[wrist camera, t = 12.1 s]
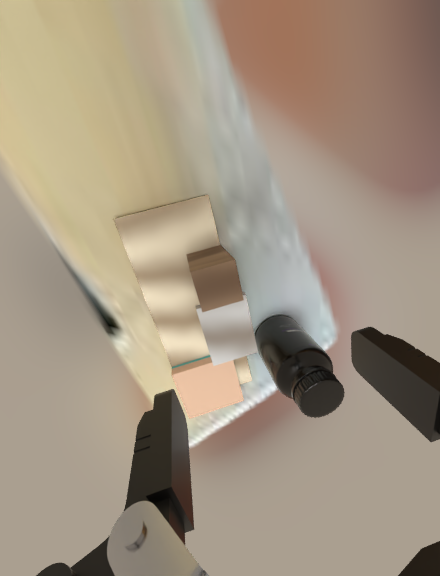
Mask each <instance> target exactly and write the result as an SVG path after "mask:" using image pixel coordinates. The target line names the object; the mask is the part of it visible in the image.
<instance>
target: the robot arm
mask: <svg viewBox="0 0 440 576" xmlns="http://www.w3.org/2000/svg"><path fill="white" fill-rule="evenodd" d="M351 349H352V363H353V366H354V367H355V369H356V371H357V372H358V373H359V374H360V375H361V376H362V377H363V378H364V379H365V380H366V381H367V382H368V383H369V384H371V386H373V387H374V388H375V389H376V390H377V391H378V392H379V393H380V394H381V395H382V396H383V397H384V398H385V399H386V400H387V401H388V402H389V403H390V404H392V406H394V407H395V408H396V409H397V410H398V411H399V412H400V413H401V414H402V415H403V416H404V417H405V418H406V419H407V420H408V421H409V422H410V423H411V424H412V425H413V426H415V427H416V428H417V429H418V430H419V431H420V432H421V433H422V434H423V435H424V436H425V437H426V438H427V439H428V440H429V441H430V442H433V441H436V440H438V439H440V363H439V362H437V361H436V360H434V359H433V358H431V357H429V356H426V355H425V353H423V352H421V351H420V350H418V349H415V347H413V346H412V345H410V344H409V343H407V342H405V341H404V340H402V339H399V338H397V337H394V336H391V335H388V334H386V335H384V334H382V333H381V332H379V331H378V330H376V329H375V328H372V327H367V328H364V329H361V330H357V331H355V332H353V333H352V335H351ZM191 530H194V520H193V505H192V489H191V474H190V459H189V444H188V429H187V423H186V418H185V415H184V412H183V410H182V408H181V405H180V403H179V400H178V398H177V395H176V393H175V391H174V389H171V390H168V391H165V392H162V393H159V394H156V395H155V397H154V407H153V410H151V411H148V412H145V413H144V415H143V417H142V419H141V420H140V422H139V424H138V427H137V434H136V442H135V447H134V455H133V461H132V468H131V474H130V481H129V487H128V494H127V500H126V505H125V509H124V512H123V513H122V514H121V516H120V517H119V518H118V520H117V521H116V523H115V525H114V527H113V529H112V531H111V534H110V536H109V537H108V538H107V539H106V540H105V541H104V542H103V543H102V544H100V545H99V546H98V547H97V548H96V549H94V550H93V551H92V552H90V553H89V554H88V555H87V556H85V557H84V558H83V559H82V560H80V561H79V562H77V563H76V564H75V565H74V566H72V567H71V568H70V567H69V566H67V565H66V564H64V563H55V564H52V565H50V566H48V567H47V568H45V569H44V570H42V571H41V572H40V573H39V574H38V575H37V576H209V575H208V574H207V573H206V572H205V571H204V570H203V569H202V568H201V567H200V565H199V564H198V563H197V561H196V560H195V559H194V557H193V556H192V554H191V553H190V552H189V550H188V549H187V548H186V547H185V533H186V532H188V531H191ZM398 576H440V541H439V542H436V543H434V544H432V545H429V546H427V547H424V548H422V549H421V550H420V551H419V552H418V553H417V554H416V556H415V557H414V558H413V559H412V561H410V563H409V564H408V565H407V566H406V567H405V568H404V570H403V571H402V572H401V573H400V574H399V575H398Z"/></svg>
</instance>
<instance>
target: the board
mask: <svg viewBox="0 0 440 576" xmlns="http://www.w3.org/2000/svg"><path fill="white" fill-rule="evenodd" d="M113 220H114V222H115V225H116V227H117V230H118V232H119V235H120V237H121V240H122V242H123V245H124V247H125V250H126V252H127V255H128V257H129V260H130V263H131V265H132V268H133V270H134V273H135V275H136V278H137V280H138V283H139V285H140V288H141V290H142V293H143V295H144V298H145V300H146V303H147V306H148V308H149V311H150V313H151V316H152V318H153V321H154V323H155V326H156V328H157V331H158V333H159V336H160V338H161V341H162V343H163V346H164V349H165V351H166V354H167V356H168V359H169V361H170V364H171V366H172V367H173V366H176V365H180V364H183V363H186V362H189V361H192V360H196V359H199V358H202V357H205V356H208V355H210V353H209V350H208V347H207V343H206V340H205V337H204V333H203V330H202V327H201V324H200V320H199V317H198V314H197V311H196V306H197V305H200V303H199V300H198V296H197V293H196V290H195V286H194V283H193V279H192V276H191V273H190V269H189V264H188V260H187V256H186V254H189V253H193V252H197V251H200V250H204V249H208V248H211V247H215V246H219V245H220V243H219V238H218V234H217V230H216V226H215V221H214V217H213V213H212V209H211V204H210V200H209V196H208V195H204V196H201V197H197V198H193V199H189V200H185V201H181V202H177V203H173V204H169V205H165V206H162V207H158V208H154V209H150V210H146V211H142V212H138V213H134V214H130V215H126V216H123V217H119V218H115V219H113ZM233 361H234V365H235V369H236V372H237V376H238V380H239V384H243V383H247V382H250V381H252V378H251V374H250V370H249V365H248V361H247V357H246V356H244V357H241V358H238V359H235V360H233Z"/></svg>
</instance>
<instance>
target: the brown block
mask: <svg viewBox="0 0 440 576" xmlns="http://www.w3.org/2000/svg"><path fill="white" fill-rule="evenodd" d="M186 256H187V260H188V264H189V269H190V273H191V276H192V279H193V283H194V286H195V290H196V293H197V296H198V300H199V303H200V305H197V306H196V311H197V314H198V317H199V320H200V324H201V327H202V330H203V333H204V337H205V340H206V343H207V347H208V350H209V353H210V356H211V360H212V363H213V366H216V365H219V364H222V363H225V362H228V361H231V360H235V359H238V358H241V357H244V356H247V355H250V354H253V353H257V352H258V350H257V345H256V340H255V336H254V331H253V326H252V321H251V317H250V312H249V307H248V302H247V297H246V294H245V293H244V292H242V289H241V285H240V280H239V275H238V271H237V266H236V262H235V259H234V258H233V257H232V256H231V255H230V254H229V253H228V252H227V251H226V250H225V249H224V248H223V247H222V246H221V245H219V246H215V247H211V248H208V249H204V250H200V251H197V252H193V253H189V254H186Z"/></svg>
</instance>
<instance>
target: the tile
mask: <svg viewBox="0 0 440 576" xmlns="http://www.w3.org/2000/svg"><path fill="white" fill-rule="evenodd" d="M172 377H173V380H174V382H175V385H176V387H177V390H178V392H179V395H180V397H181V400H182V402H183V405H184V407H185V409H186V412H187V414H188V417H189V419H190V418H193V417H196V416H199V415H202V414H205V413H208V412H211V411H214V410H217V409H220V408H223V407H226V406H229V405H232V404H235V403H238V402H241V401H244V399H243V395H242V391H241V387H240V384H239V380H238V376H237V372H236V369H235V365H234V361H233V360H231V361H228V362H225V363H222V364H219V365H216V366H213V363H212V360H211V356H210V355H208V356H205V357H202V358H199V359H196V360H192V361H189V362H186V363H183V364H180V365H176V366H173V367H172Z"/></svg>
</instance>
